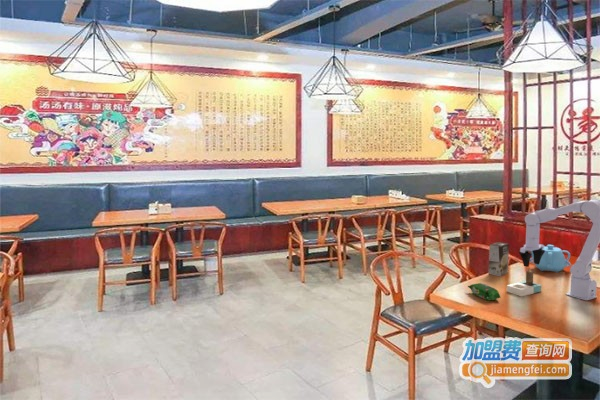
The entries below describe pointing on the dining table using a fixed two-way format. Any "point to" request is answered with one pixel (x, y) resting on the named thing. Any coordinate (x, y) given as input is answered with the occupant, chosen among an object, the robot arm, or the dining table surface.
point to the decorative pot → (552, 259)
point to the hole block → (523, 288)
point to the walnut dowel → (529, 278)
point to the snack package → (484, 291)
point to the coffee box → (498, 258)
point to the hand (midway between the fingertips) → (531, 265)
